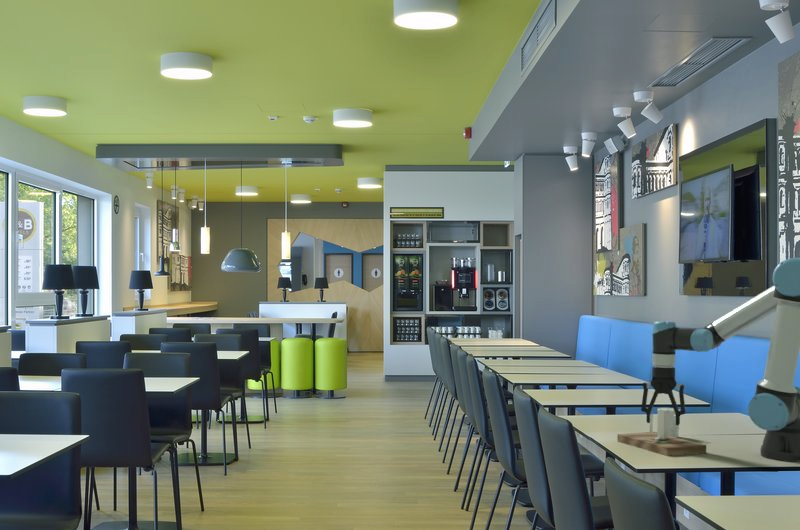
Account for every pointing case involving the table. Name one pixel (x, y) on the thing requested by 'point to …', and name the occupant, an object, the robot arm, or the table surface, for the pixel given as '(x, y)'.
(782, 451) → the robot arm
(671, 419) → the white cup
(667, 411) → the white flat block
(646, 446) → the wooden cutting board
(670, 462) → the table surface
